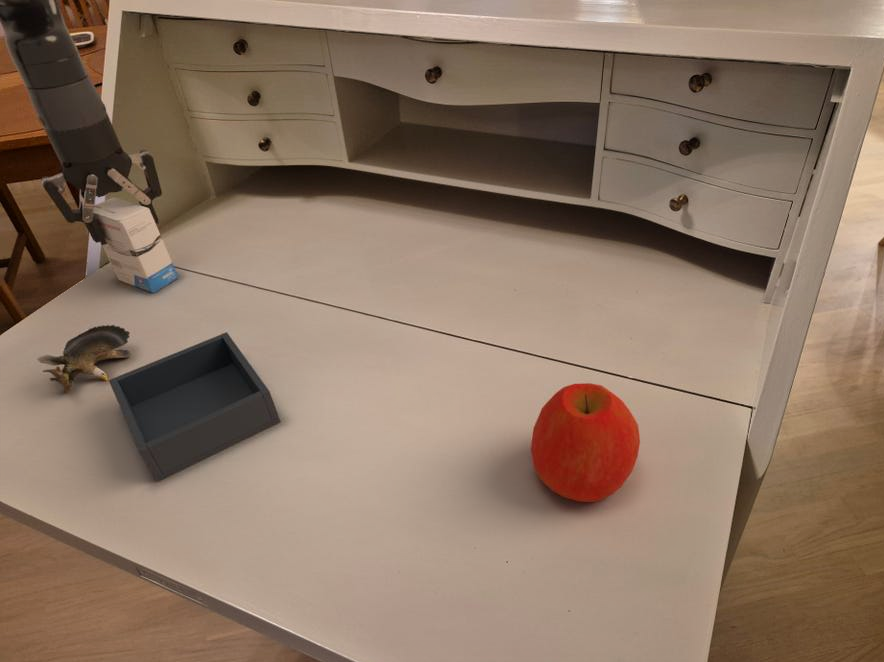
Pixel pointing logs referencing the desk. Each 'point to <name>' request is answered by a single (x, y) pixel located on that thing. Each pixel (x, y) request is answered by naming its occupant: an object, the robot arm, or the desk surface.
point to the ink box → (134, 244)
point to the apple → (585, 442)
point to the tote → (193, 405)
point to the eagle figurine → (87, 354)
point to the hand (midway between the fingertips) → (128, 234)
